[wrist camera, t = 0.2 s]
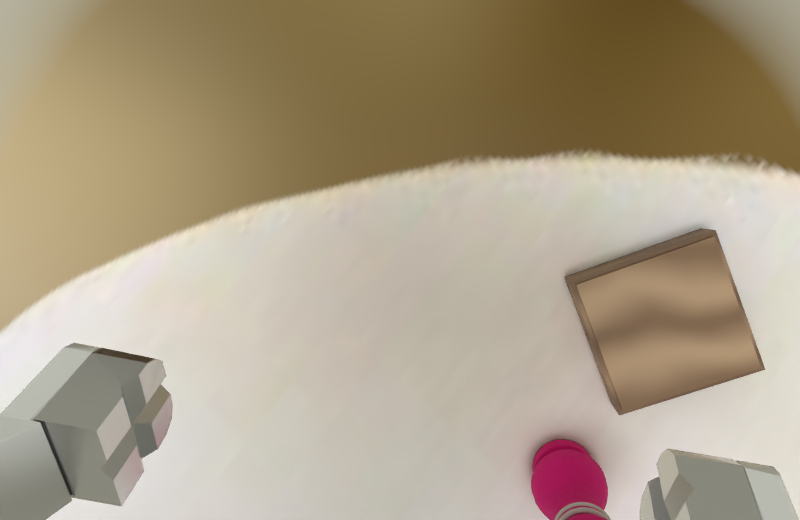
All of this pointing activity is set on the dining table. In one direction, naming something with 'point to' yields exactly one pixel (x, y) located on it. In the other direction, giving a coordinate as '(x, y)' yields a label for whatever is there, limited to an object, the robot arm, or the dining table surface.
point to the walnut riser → (665, 321)
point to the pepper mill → (568, 483)
